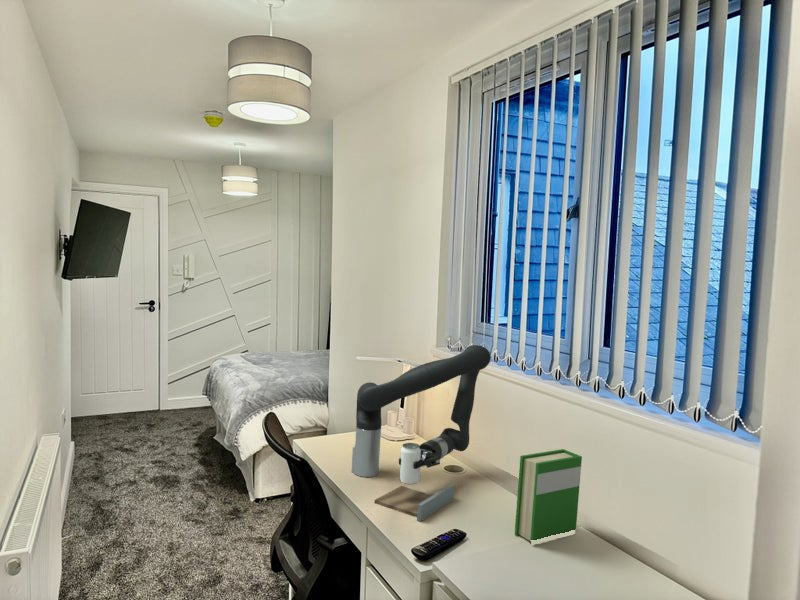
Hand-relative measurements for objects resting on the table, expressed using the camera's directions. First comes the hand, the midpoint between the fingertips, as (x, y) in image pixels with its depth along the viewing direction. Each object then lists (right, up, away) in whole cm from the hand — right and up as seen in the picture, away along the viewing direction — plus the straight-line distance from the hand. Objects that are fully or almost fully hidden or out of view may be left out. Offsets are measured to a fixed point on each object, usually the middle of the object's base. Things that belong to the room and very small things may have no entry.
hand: (407, 463), depth 189 cm
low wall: (+9, -14, -2) cm, 17 cm away
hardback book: (+41, -17, -15) cm, 47 cm away
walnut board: (0, -13, +3) cm, 14 cm away
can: (+1, -7, +3) cm, 7 cm away
